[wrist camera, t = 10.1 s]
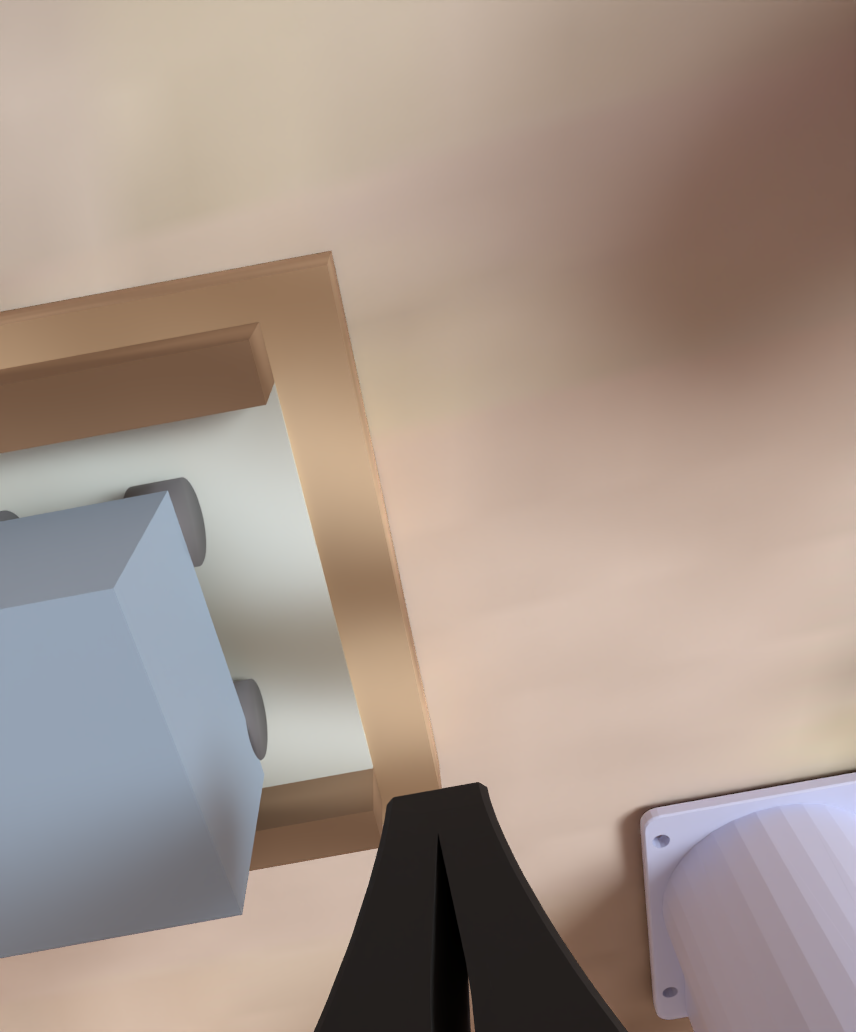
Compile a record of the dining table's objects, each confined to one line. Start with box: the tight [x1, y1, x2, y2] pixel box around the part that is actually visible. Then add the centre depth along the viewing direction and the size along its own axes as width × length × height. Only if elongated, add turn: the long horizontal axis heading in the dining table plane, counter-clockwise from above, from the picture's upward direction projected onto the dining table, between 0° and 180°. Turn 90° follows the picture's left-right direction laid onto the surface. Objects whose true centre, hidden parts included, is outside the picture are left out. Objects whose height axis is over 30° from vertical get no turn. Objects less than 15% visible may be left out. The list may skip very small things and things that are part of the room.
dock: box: [0, 251, 442, 871], centre depth 19 cm, size 14×11×4 cm
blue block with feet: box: [0, 477, 268, 958], centre depth 16 cm, size 7×5×5 cm, turn 10°
